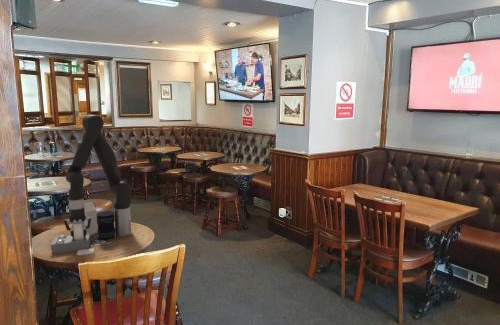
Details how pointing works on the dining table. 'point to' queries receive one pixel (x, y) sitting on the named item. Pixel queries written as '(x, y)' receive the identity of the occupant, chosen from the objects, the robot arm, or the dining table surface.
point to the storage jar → (105, 225)
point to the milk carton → (91, 212)
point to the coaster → (85, 251)
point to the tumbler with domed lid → (78, 230)
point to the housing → (70, 244)
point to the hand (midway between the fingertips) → (79, 236)
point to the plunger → (62, 237)
